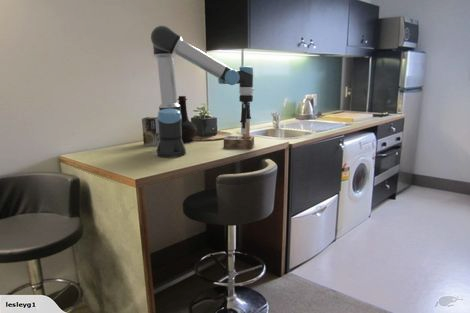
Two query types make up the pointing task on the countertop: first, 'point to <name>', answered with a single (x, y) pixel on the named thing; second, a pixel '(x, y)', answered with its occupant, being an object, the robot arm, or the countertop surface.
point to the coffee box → (150, 131)
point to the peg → (247, 132)
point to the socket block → (238, 142)
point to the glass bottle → (186, 122)
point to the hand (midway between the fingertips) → (245, 131)
